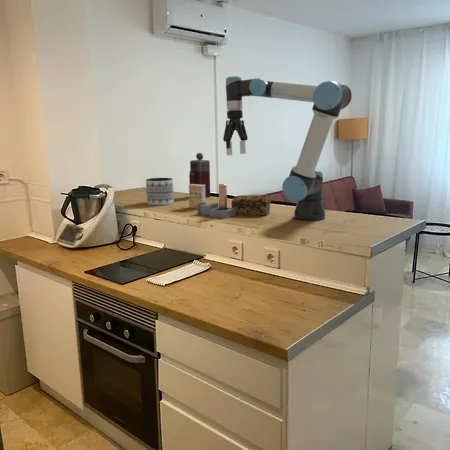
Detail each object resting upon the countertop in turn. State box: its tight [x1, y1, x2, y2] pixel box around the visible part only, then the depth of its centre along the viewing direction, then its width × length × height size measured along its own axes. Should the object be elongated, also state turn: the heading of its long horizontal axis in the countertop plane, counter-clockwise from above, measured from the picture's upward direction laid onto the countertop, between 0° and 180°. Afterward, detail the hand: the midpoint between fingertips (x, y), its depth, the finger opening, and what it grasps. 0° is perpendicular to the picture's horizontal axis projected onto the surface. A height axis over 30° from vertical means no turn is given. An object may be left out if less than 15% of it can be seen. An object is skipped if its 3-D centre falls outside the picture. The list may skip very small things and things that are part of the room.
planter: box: [145, 177, 175, 206], centre depth 276 cm, size 16×16×14 cm
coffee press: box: [188, 152, 211, 198], centre depth 296 cm, size 9×11×28 cm
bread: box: [231, 194, 271, 217], centre depth 240 cm, size 19×11×10 cm, turn 73°
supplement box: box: [188, 183, 206, 209], centre depth 259 cm, size 8×5×13 cm, turn 68°
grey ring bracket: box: [196, 201, 237, 219], centre depth 238 cm, size 10×19×6 cm, turn 58°
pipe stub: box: [218, 183, 228, 210], centre depth 234 cm, size 4×4×16 cm
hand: (236, 154), depth 229 cm, fingers open, 13 cm apart
